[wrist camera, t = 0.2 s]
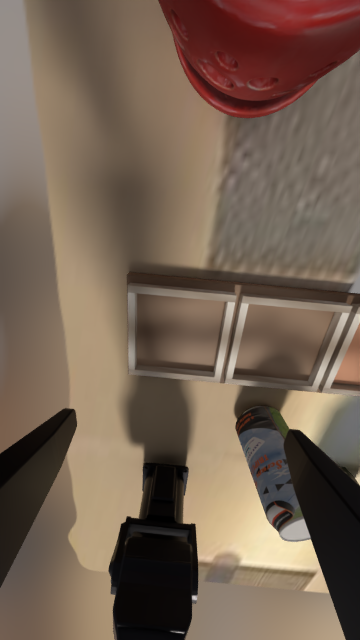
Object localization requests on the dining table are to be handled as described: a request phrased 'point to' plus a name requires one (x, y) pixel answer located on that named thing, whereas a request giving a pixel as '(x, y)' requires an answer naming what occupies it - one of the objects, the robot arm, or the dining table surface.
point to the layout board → (243, 334)
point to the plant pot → (260, 48)
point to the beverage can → (271, 470)
